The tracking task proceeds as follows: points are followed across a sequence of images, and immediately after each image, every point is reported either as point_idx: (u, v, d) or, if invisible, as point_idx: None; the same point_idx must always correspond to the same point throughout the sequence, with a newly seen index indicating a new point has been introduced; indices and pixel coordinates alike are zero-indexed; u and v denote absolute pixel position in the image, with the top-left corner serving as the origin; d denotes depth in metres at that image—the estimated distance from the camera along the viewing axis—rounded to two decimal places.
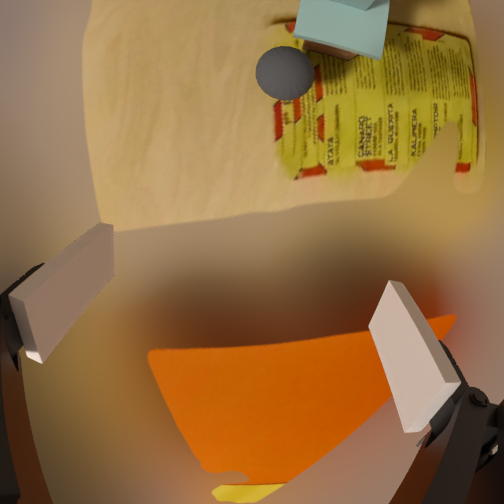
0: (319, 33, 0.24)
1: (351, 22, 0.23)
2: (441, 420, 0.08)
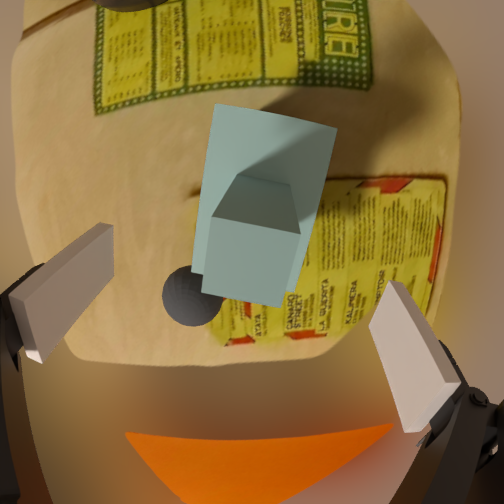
0: None
1: None
2: (441, 420, 0.08)
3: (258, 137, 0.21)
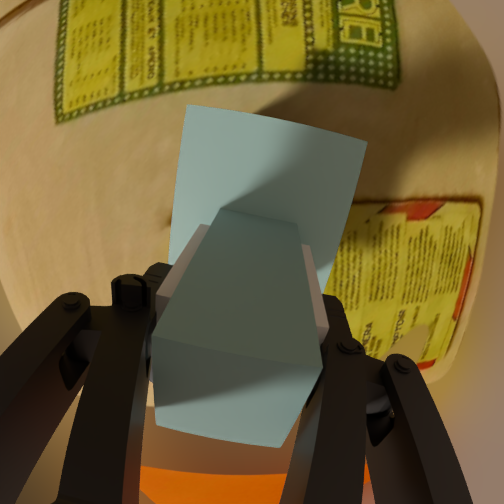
0: None
1: None
2: None
3: (251, 154, 0.14)
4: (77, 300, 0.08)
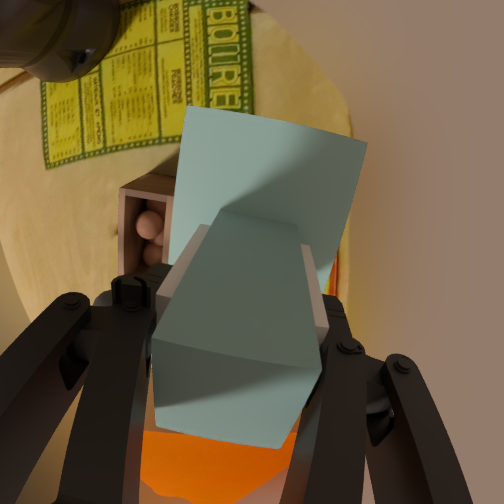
0: None
1: None
2: None
3: (250, 155, 0.14)
4: (77, 300, 0.08)
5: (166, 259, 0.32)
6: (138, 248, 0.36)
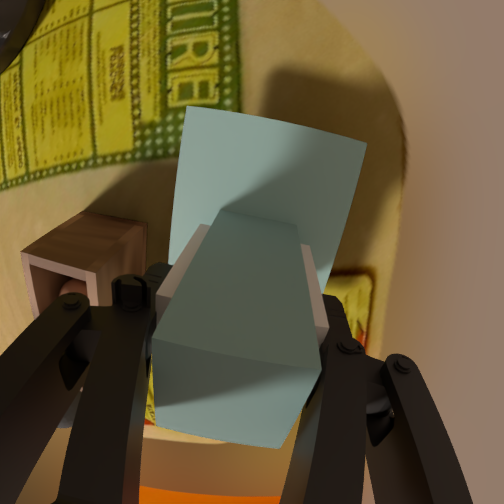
0: None
1: None
2: None
3: (250, 155, 0.14)
4: (77, 300, 0.08)
5: None
6: None
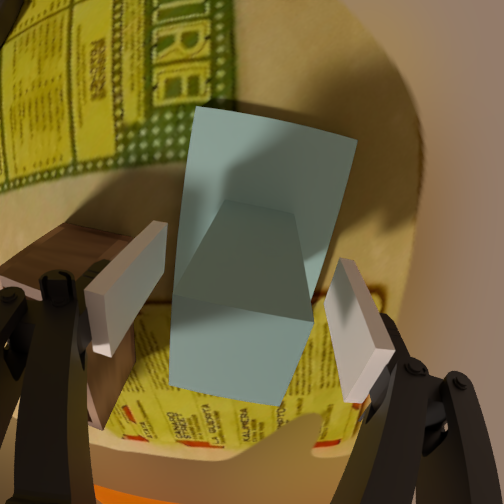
0: None
1: None
2: (378, 393, 0.09)
3: (253, 151, 0.16)
4: (13, 293, 0.07)
5: None
6: None
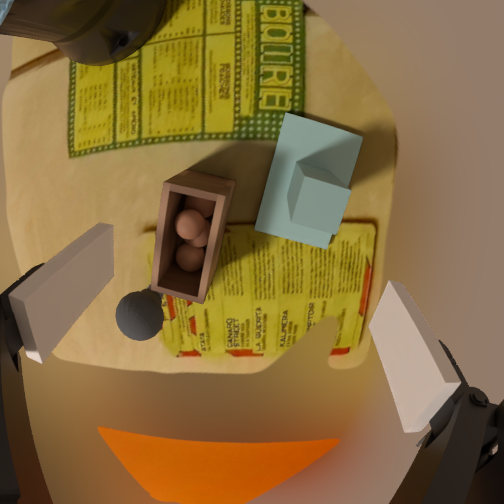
0: (275, 229, 0.36)
1: None
2: (441, 420, 0.08)
3: (312, 138, 0.32)
4: None
5: (209, 262, 0.30)
6: (171, 248, 0.35)
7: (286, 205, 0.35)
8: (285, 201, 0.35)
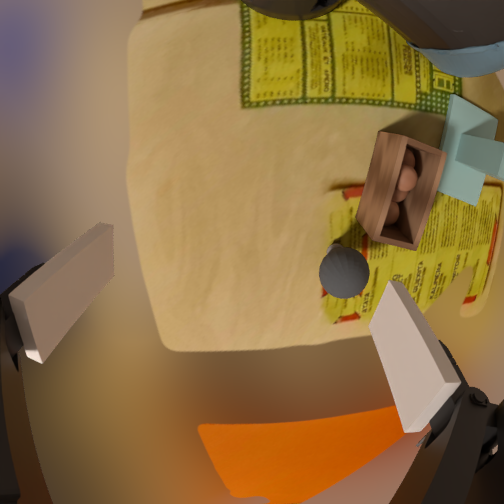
0: (446, 188, 0.36)
1: (465, 180, 0.35)
2: (441, 420, 0.08)
3: (470, 117, 0.31)
4: None
5: (429, 210, 0.30)
6: None
7: (454, 168, 0.34)
8: (453, 165, 0.34)
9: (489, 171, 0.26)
